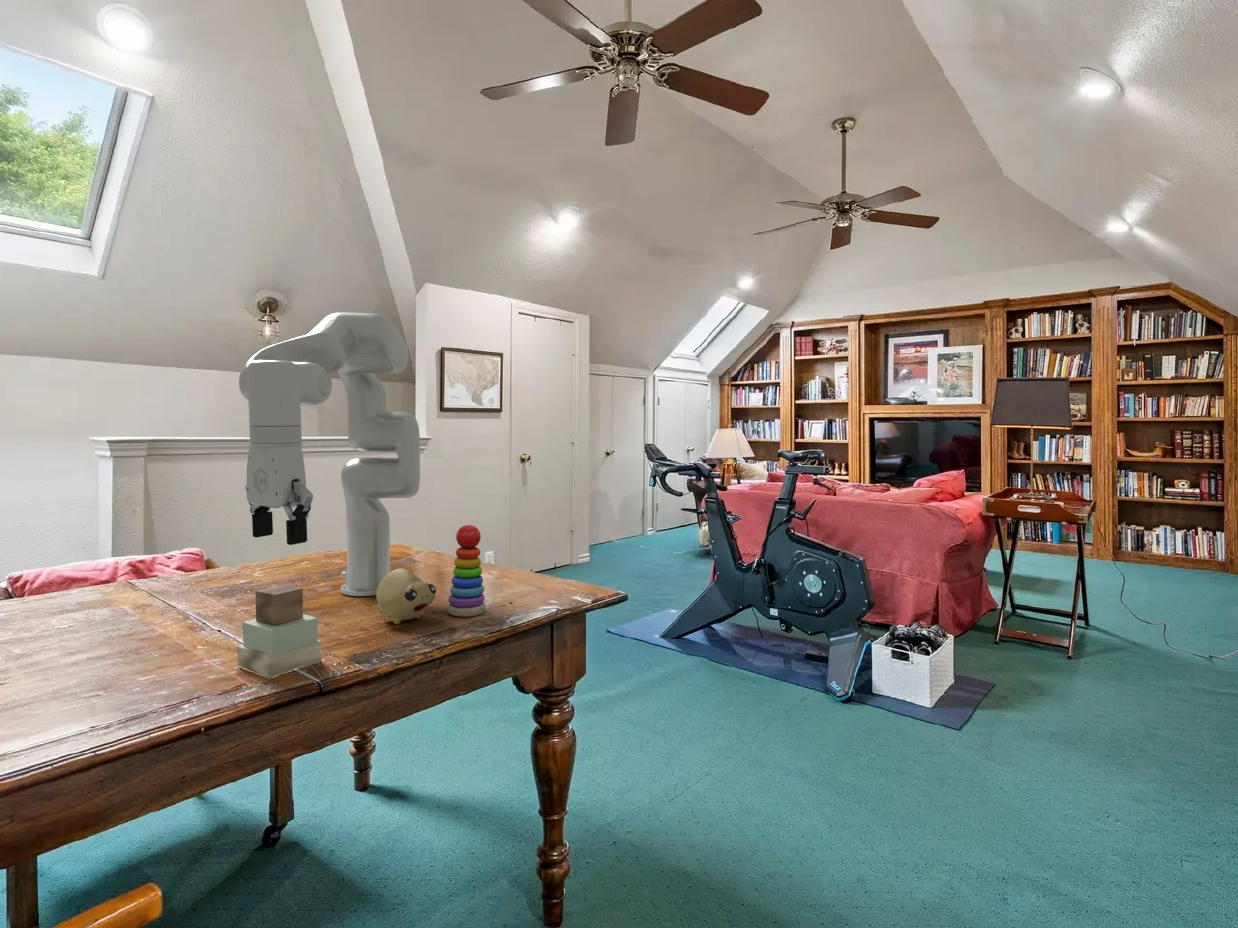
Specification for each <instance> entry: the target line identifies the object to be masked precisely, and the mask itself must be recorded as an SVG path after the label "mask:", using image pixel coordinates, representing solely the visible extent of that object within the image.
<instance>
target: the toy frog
mask: <svg viewBox="0 0 1238 928" xmlns="http://www.w3.org/2000/svg"><path fill="white" fill-rule="evenodd" d="M436 588H437V587H436V586H435V585H434V584H433V583H429V582H425V581H423V580H422V579H421V578H420V577H419V576H418V575H416V574H415V573H413V572H411V571H410V570H409V569H406V568H403V567H398V568H396V569H394V570H390V573H389V574H387V575H386V576H385V577H384V578H383V580H382V581H381V582H380V584H379V586H378V588H377V593H376V595H375V596H376V603H377V604H378V607H379V609H378V612H379V614H380V615H386V616H387V617H390V619H392V622H393V623H394V624H395V625H399V624H401V622H402V621H409V620H413V619H416V620H417V619H420V618H421V617H422V613H423V612H424V611H425V610H426V608H427V607H428V606H429V605H431V604H432V603H433V601H435V599H436V592H437V589H436Z"/></svg>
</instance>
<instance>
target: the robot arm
mask: <svg viewBox="0 0 1238 928" xmlns="http://www.w3.org/2000/svg"><path fill="white" fill-rule="evenodd" d="M408 363H409V349H408V346H407V343H406V341H405V339H404V338H403V336H402V335H401V333H400V331H398V329H397V327H396V326H395V325H394V323H393V322H392V321H391V320H390V319H389V318H387V317H386V316H384V315H382V314H380V313H376V312H349V311H348V312H346V311H345V312H343V311H342V312H334V313H333V312H332V313H330V314H328V315H327V316H325V317H324V318H323V319H322V320H321V321H320V322H318V323H317V324H316V326H315V327H313V328H312V330H310V331H309V332H308V333H307V334H305V335H302V336H297V337H295V338H291V339H288V340H284V341H282V342H279V343H278V342H277V343H274V344H272V345H269V346H267V347H264V348H262V349H261V350H259V351H257V352H256V353H255V354H254V355H252V356H251V357H250V358H249V359H248V360H247V361H246V362H245V364H244V365H243V367H242V368H241V370H240V373H239V376H238V385H239V386H238V387H239V388H238V389H239V391H240V394H241V395H242V396H243V398H244V399H245V400H247V401H248V402H247V403H248V418H249V419H248V423H249V425H248V426H249V427H248V428H249V430H248V431H249V446H248V447H249V448H248V454H247V461H246V485H245V491H246V500H247V502H248V503H249V505H250V508H249V511H250V514H251V524H252V526H251V527H252V537H254V538H262V537H267V536H272V535H273V534H274V526H273V525H274V524H273V523H274V520H273V511H271V509H279V508H280V509H281V508H282V507H283V509H284V511H285V515H286V516H287V518H288V520H285V525H286V526H285V527H286V529H285V531H286V532H285V533H286V544H287V545H289V546H293V545H298V544H304V543H307V542H308V524H307V523H308V522H307V520H308V519H309V517H310V516H309V513H310V511H311V510H312V502H313V498H314V494H313V493H312V492H311V491H310V490H309V489H308V488H307V480H306V479H307V478H306V470H305V469H306V467H305V462H304V454H303V449H302V445H303V443H302V442H303V440H302V413H301V412H302V410H301V406H303V407H304V406H305V407H306V406H307V407H308V406H317V405H320V404H322V403H324V402H326V401H327V399H329V397H330V395H331V392H332V388H333V386H332V385H333V383H332V378H331V376H330V375H331V374H334V373H336V372H337V374H338V375H339V378H340V379H341V381H342V383H343V386H344V388H345V391H346V401H347V402H346V404H347V408H346V409H347V413H346V414H347V435H348V436H347V437H348V443H349V445H350V447H351V448H352V449H353V450H356V451H357V452H358V451H360V452H367V453H368V452H369V453H396V455H397V457H357V458H356V457H355V458H353V459H350V460H348V461H347V462H346V463H345V464H343V466H342V468H341V474H340V475H341V476H340V477H341V478H340V481H341V484H342V489H343V495H344V500H345V514H346V518H345V519H346V567H347V568H346V570H345V571H341V573H340V577H341V578H345V583H344V584H342V585H341V586H340V588H339V589H340V592H341V594H343V595H346V596H351V597H371V596H372V597H373V596H376V593H377V588H378V586H379V584H380V582H381V581H382V580H383V578H384V577H385V576H386V575H387V574H389V573H390V572H391V547H390V545H391V544H390V543H391V541H390V539H391V536H390V535H391V533H390V532H391V531H390V523H391V520H390V514H389V512H388V510H387V508H386V507H385V506H384V504H383V503H382V501H381V500H380V499H410V498H412V497H414V496H416V495H417V494H418V492H419V489H420V484H421V473H420V472H421V455H420V454H421V451H420V449H421V447H420V446H421V443H420V441H421V439H420V438H421V437H420V429H419V424H418V420H417V419H416V417H415V416H414V415H413V414H412V413H409V412H405V411H388V410H387V398H386V397H387V393H386V392H387V391H386V389H385V387H384V385H383V383H382V382H381V381H380V379H379V378H378V376H376V375H375V374H398V373H401V372H403V371H405V369H406V368H407V365H408ZM293 508H295V509H293Z"/></svg>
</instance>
